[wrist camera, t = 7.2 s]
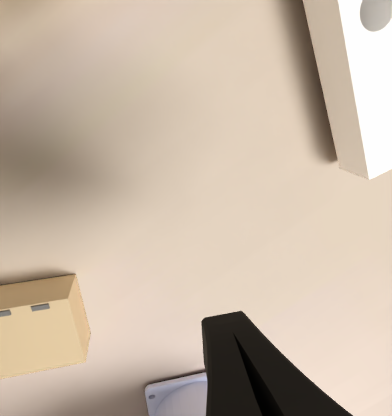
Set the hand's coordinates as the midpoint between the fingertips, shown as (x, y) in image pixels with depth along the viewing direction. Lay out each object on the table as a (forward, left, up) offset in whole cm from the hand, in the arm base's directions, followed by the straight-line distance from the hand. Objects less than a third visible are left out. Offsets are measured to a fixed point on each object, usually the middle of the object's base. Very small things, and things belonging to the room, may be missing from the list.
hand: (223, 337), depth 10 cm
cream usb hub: (-6, +13, -10) cm, 17 cm away
